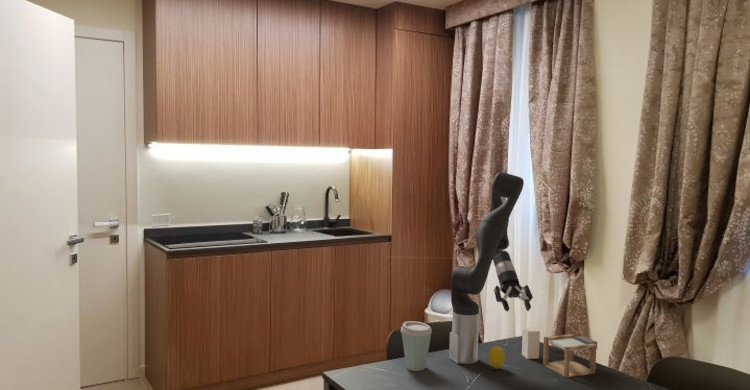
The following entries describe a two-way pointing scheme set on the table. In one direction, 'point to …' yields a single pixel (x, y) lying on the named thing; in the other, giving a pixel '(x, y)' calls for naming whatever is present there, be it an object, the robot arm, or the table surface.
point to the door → (573, 342)
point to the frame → (569, 359)
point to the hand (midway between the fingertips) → (518, 310)
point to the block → (530, 343)
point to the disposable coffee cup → (416, 344)
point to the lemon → (496, 357)
